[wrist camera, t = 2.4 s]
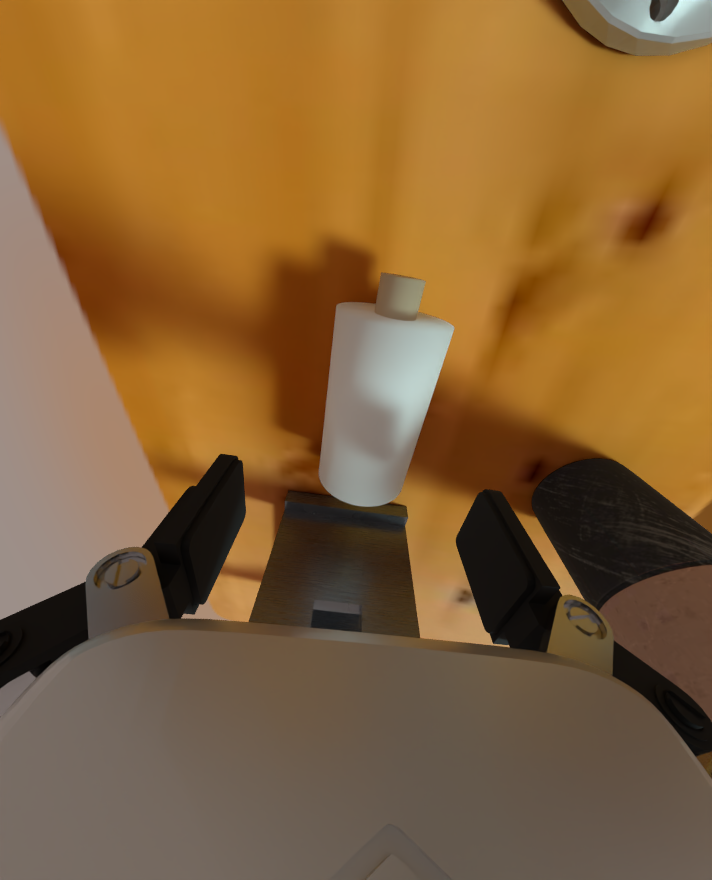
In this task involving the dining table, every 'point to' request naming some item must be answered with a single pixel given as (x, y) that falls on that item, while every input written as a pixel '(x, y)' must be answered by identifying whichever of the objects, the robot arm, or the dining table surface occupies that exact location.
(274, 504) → the dining table surface
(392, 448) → the paper roll
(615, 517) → the travel mug
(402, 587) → the roll holder
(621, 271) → the dining table surface
